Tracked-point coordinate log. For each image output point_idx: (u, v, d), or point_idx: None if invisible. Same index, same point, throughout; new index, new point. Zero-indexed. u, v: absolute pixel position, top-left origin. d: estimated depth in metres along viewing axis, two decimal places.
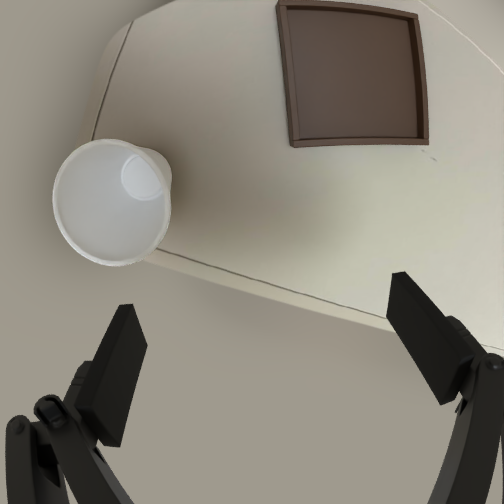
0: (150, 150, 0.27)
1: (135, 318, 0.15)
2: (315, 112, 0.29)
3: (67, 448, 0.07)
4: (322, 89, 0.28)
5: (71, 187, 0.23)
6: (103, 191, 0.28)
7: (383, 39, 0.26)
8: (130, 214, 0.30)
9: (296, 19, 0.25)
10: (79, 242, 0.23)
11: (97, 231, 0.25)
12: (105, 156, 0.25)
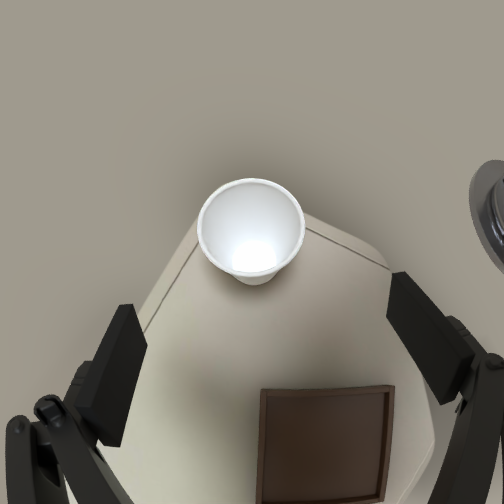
0: None
1: (135, 318, 0.15)
2: (289, 413, 0.32)
3: (67, 448, 0.07)
4: (309, 420, 0.32)
5: (268, 198, 0.32)
6: (253, 223, 0.37)
7: (356, 473, 0.29)
8: (227, 242, 0.37)
9: (375, 401, 0.32)
10: (224, 193, 0.31)
11: (225, 210, 0.33)
12: (283, 231, 0.35)
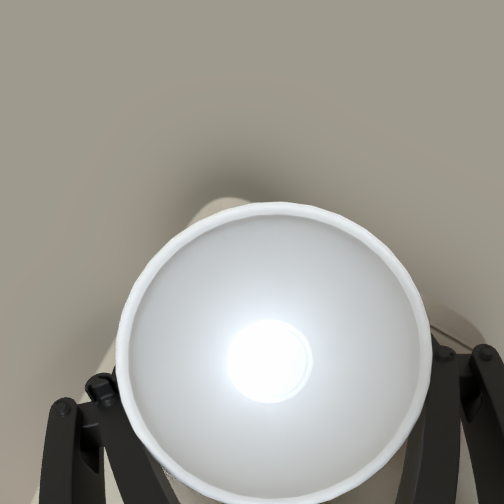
0: None
1: None
2: None
3: (115, 428, 0.08)
4: None
5: (320, 254, 0.12)
6: (272, 296, 0.17)
7: None
8: (215, 334, 0.17)
9: None
10: (200, 242, 0.11)
11: (207, 280, 0.13)
12: (343, 326, 0.14)
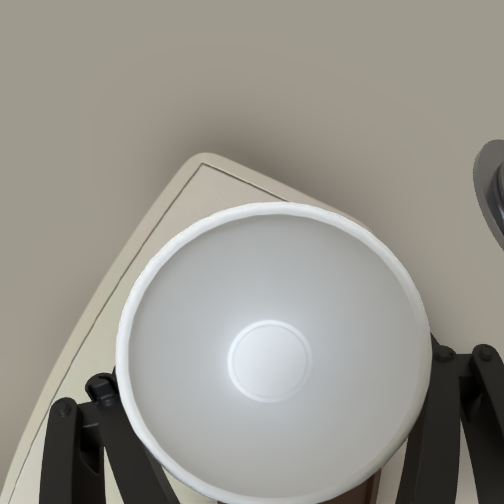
0: None
1: None
2: None
3: (115, 428, 0.08)
4: None
5: (320, 254, 0.12)
6: (272, 295, 0.17)
7: None
8: (215, 334, 0.17)
9: None
10: (200, 242, 0.11)
11: (207, 280, 0.13)
12: (343, 325, 0.14)
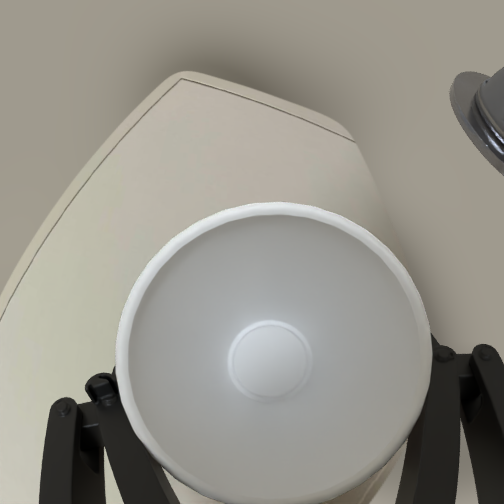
0: None
1: None
2: None
3: (115, 428, 0.08)
4: None
5: (320, 254, 0.12)
6: (272, 296, 0.17)
7: None
8: (215, 334, 0.17)
9: None
10: (200, 242, 0.11)
11: (207, 280, 0.13)
12: (343, 326, 0.14)
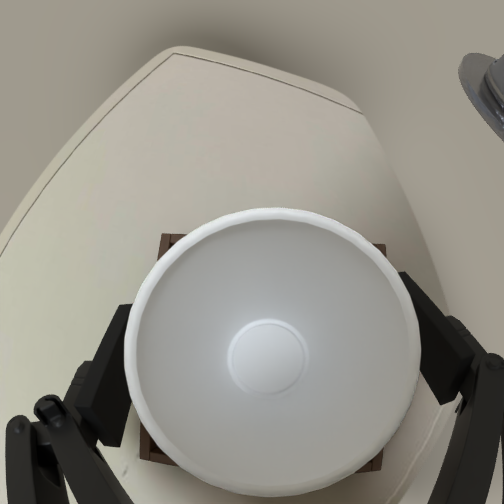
0: None
1: None
2: None
3: (67, 448, 0.07)
4: None
5: (316, 256, 0.13)
6: (270, 295, 0.17)
7: None
8: (215, 332, 0.17)
9: None
10: (203, 245, 0.12)
11: (209, 280, 0.14)
12: (338, 324, 0.15)
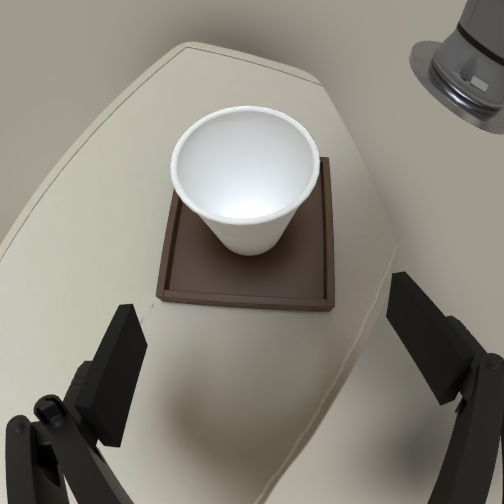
0: (282, 232, 0.26)
1: (135, 318, 0.15)
2: None
3: (67, 448, 0.07)
4: None
5: (270, 135, 0.24)
6: (249, 175, 0.28)
7: (292, 263, 0.29)
8: (215, 198, 0.28)
9: None
10: (211, 124, 0.22)
11: (213, 151, 0.24)
12: (288, 182, 0.26)
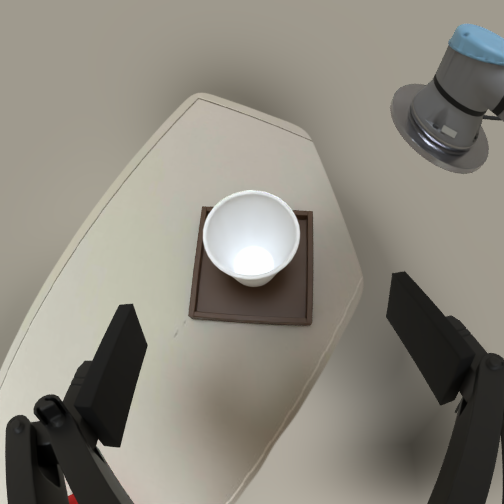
0: (276, 273, 0.38)
1: (135, 318, 0.15)
2: None
3: (67, 448, 0.07)
4: None
5: (268, 208, 0.36)
6: (253, 230, 0.40)
7: (283, 292, 0.41)
8: (229, 246, 0.40)
9: None
10: (228, 203, 0.34)
11: (229, 218, 0.36)
12: (281, 239, 0.38)
